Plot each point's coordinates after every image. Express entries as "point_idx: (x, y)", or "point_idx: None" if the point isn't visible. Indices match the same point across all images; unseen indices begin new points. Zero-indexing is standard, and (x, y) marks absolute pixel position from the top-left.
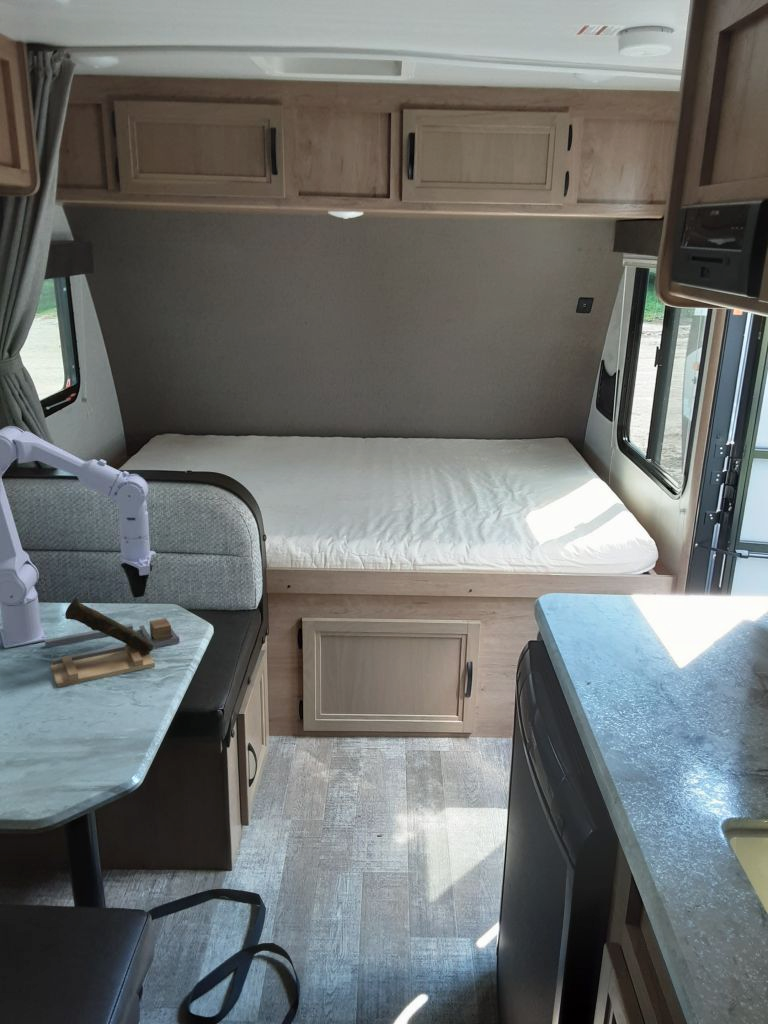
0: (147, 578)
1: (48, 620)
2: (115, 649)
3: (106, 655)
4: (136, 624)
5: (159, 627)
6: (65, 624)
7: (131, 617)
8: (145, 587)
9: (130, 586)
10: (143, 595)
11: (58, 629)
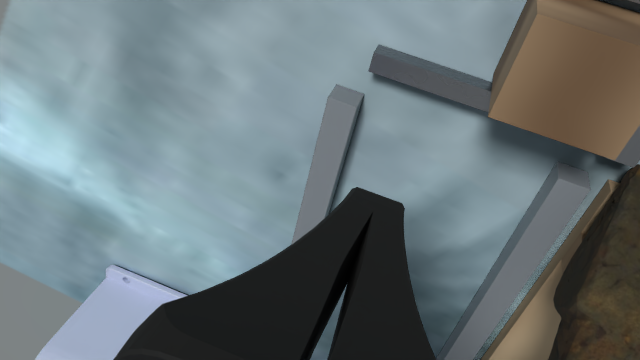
0: (423, 330)
1: (92, 231)
2: (523, 282)
3: (533, 319)
4: (300, 37)
5: (633, 131)
6: (147, 219)
7: (206, 7)
8: (404, 249)
9: (326, 322)
10: (402, 211)
11: (176, 252)
